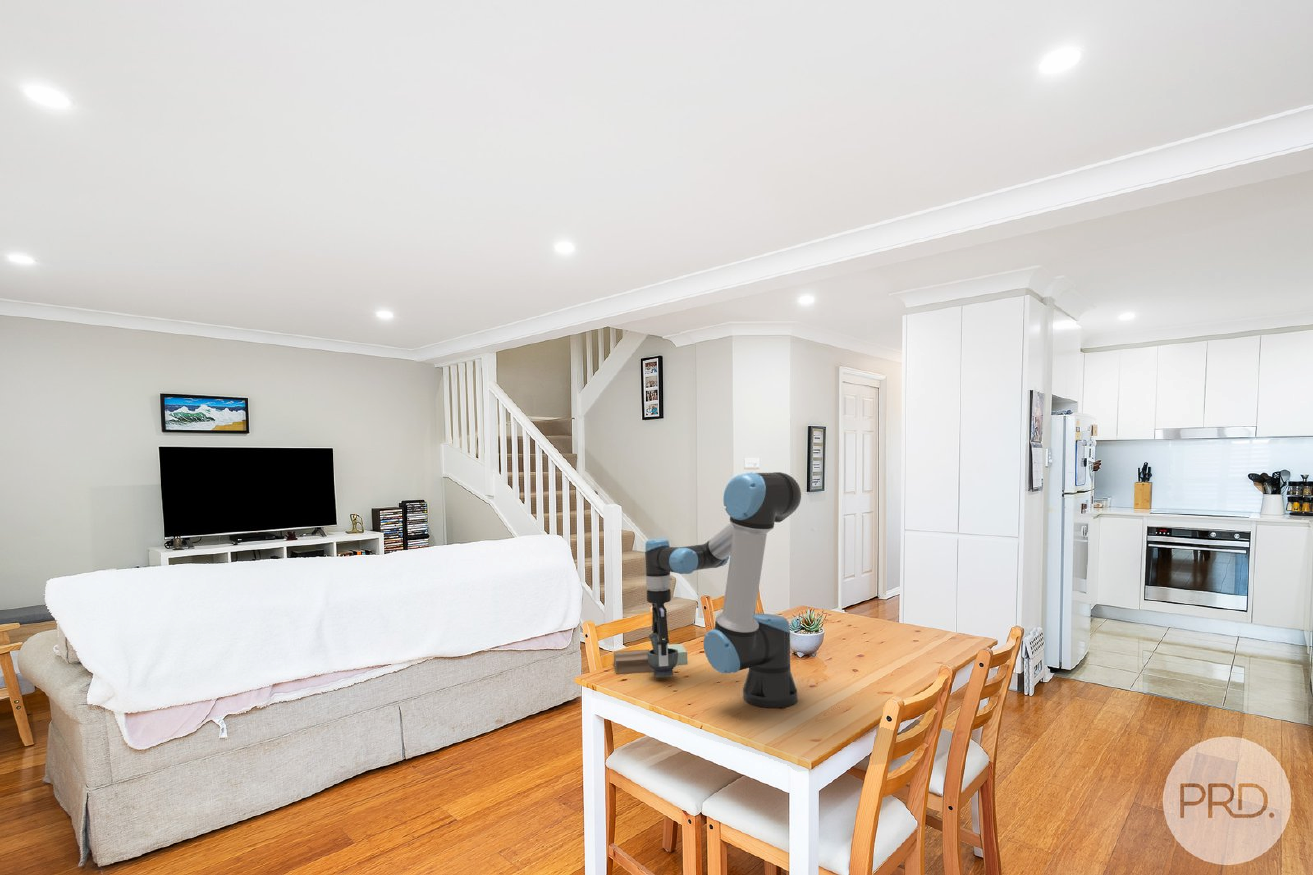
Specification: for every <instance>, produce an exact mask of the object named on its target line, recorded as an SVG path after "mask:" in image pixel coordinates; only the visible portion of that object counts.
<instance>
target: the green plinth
mask: <svg viewBox="0 0 1313 875" xmlns="http://www.w3.org/2000/svg"><path fill="white" fill-rule="evenodd" d="M668 648H672V649H676V650H678V662H677V664H676V666H680V665H681V666H683V665H688V651H687V649H686V648H685V646H684V645H683V644H682V643H677V644H676V643H675V644H674V643H673V644H668Z"/></svg>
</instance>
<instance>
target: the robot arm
mask: <svg viewBox="0 0 1313 875" xmlns="http://www.w3.org/2000/svg"><path fill="white" fill-rule="evenodd" d="M722 500H723V506H724V507H725V508H724V510H725V511H726V513H727V515H728V516H729V522H730V523H729V524H727V525H726V526H725V527H724V528H722V529H721V530H720V531H719V532H718V533H716V534H715V535H713V537H711V538H710V539H709V540H707V541H706V542H705V543H703V544H695V545H688V546H679V547H676V546H670V541H669V539H667V538H650V539H647V540H646V541H645V551H644V555H645V556H644V557H645V559H644V560H645V583H646V584H645V586H646V589H647V590H646V601H647V603H650V604H651V607H652V608H651V612H652V613H651V614H652V615H651V616H652V619H651V620H652V624H651V632H652V633H657V638H658V641H659V642H657V645H658V647H659V666H668V645H669V643H670V640H669V631H668V616H667V612H668V611H667V608H666V606H665V604H666V603H669V602H671V600H672V597H671V596H672V595H671V594H672V593H671V589H670V587H671V581H672V580H673V578H672V576H671V573H675V574H679V575H689V574H692V573H693V572H694V571H699V570H708V569H715V568H716V569H717V568H721V567H723V566H725V565H727V563H728V561H729V563H728V572H727V578H726V583H725V584H726V585H725V592H724V599H723V606H722V612H720V613H719V614H717V616H716V617H715V623H714V628H713V629H709V631H708V632H706V633H705V635H704V637H703V651H704V654H705V657H706V658H707V661H708V663H709V664H710V665H711V667H712V668H713V669H714V670H715V671H716V672H718V673H720V674H730V673H731V674H733V673H734V674H735V673H738V672H740V671H742V670H743V671H744V670H746V669H748V670H747V671H748V672H747V675H746V678H745V680H744V685H743V688H742V689H743V690H742V695H743V696H742V698H743V699H744V701H745V702H747V703H748V704H751V705H753V706H757V707H761V708H769V709H771V708H773V709H774V708H785V707H790V706H793V705H795V704H796V703H797V702H798V699H799V698H798V693H799V692H798V689H797V686H796V684H795V680H794V677H793V673H792V670H791V630H790V623H789V621H788V619H787V618H786V617H784V616H781V615H777V614H771V613H770V614H769V613H762V612H761V613H756V609H757V602H758V597H759V596H758V595H759V589H760V583H761V575H762V569H763V568H762V567H763V562H764V555H765V550H766V542H767V535H768V533H769V532H770V531H771V530H773V529H774V527H775V523H781V522H783V521H784V520H785V519H787V518H788V517H790V516H791V515H792V514H793V513H795V512H796V510H797V509H798V507H799V506H800V504H801V500H802V490H801V487H800V484H799V483H798V482H797V480H796V479H795V478H794V477H793V476H791V475H789V474H787V473H784V472H752V471H751V472H746V473H741V474H737V475H735V476H734V477H733V478H732V479H730V480H729V481H728V483H727V484H726V486H725V489H724V492H723V499H722Z"/></svg>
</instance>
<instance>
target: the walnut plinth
mask: <svg viewBox="0 0 1313 875" xmlns="http://www.w3.org/2000/svg"><path fill="white" fill-rule="evenodd" d="M649 650H650V649H637V650H636V649H635V650H617V651H616V652H615V651H613V666H614V669H615V673H616V675H621V674H622V675H623V674H641V673H652V672H653V673H654V670H653V669H652V668H651V666H650V665H649V663H648V656H647V653H648V651H649Z"/></svg>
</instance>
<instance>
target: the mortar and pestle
mask: <svg viewBox="0 0 1313 875" xmlns="http://www.w3.org/2000/svg"><path fill="white" fill-rule="evenodd" d="M648 638H649V640H650V643H651V646H652V649H648V650H649V651H648V653H647V656H648V663H649V665H650V666H651V668H652V669H653V670H654V672H653V676H654V677H656V678H669V677H672V676H674V668H676V666H677V665H676V664H677V662H678V650H676V649H672V648H668V666H659V647H658V645H657V642H659V641H658V638H657V633H653V632H652V633H650V634H648Z"/></svg>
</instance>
